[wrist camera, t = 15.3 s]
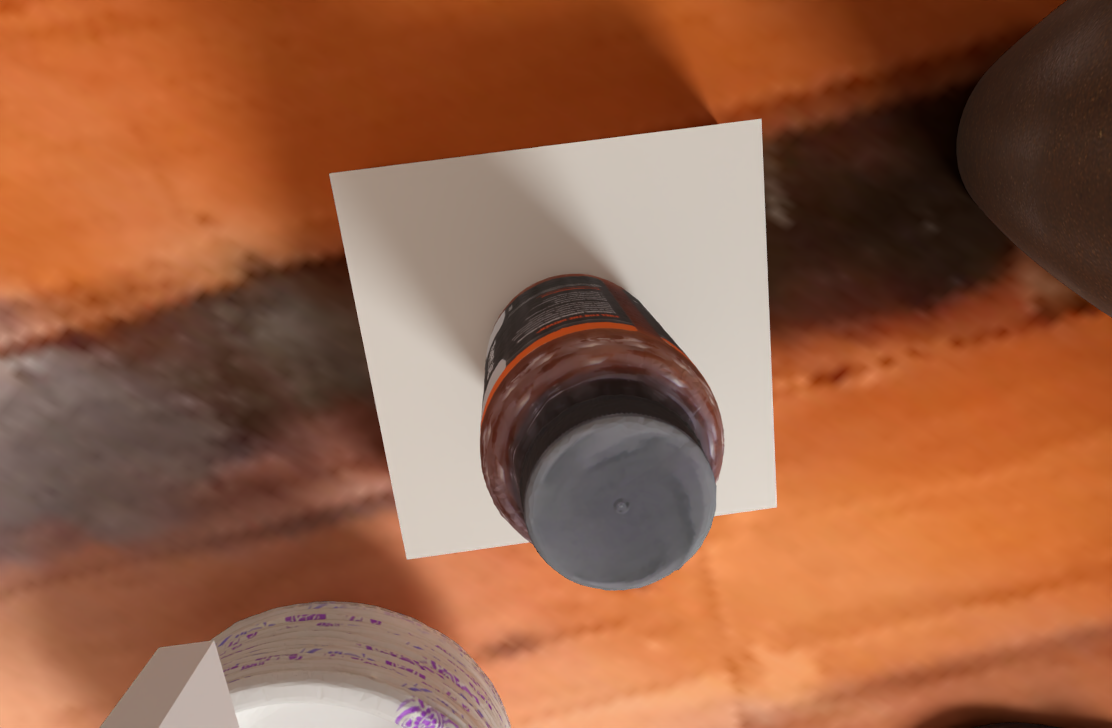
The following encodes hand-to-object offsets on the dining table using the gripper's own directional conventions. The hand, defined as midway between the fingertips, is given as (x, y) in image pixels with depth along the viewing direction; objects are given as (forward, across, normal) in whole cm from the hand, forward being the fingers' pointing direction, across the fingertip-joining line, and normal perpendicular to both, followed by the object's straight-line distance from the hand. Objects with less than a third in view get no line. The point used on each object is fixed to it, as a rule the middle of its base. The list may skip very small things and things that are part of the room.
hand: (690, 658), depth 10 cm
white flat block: (+21, +1, 0) cm, 21 cm away
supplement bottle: (+16, +1, 0) cm, 16 cm away
